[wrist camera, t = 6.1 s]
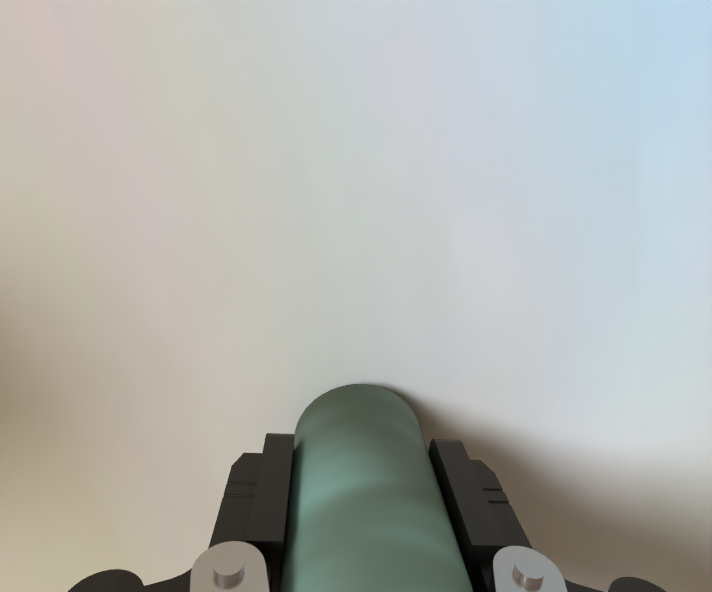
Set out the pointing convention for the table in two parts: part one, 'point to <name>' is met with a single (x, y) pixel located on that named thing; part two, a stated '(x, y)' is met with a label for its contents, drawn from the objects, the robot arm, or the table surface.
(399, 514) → the lever
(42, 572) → the table surface
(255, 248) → the table surface
